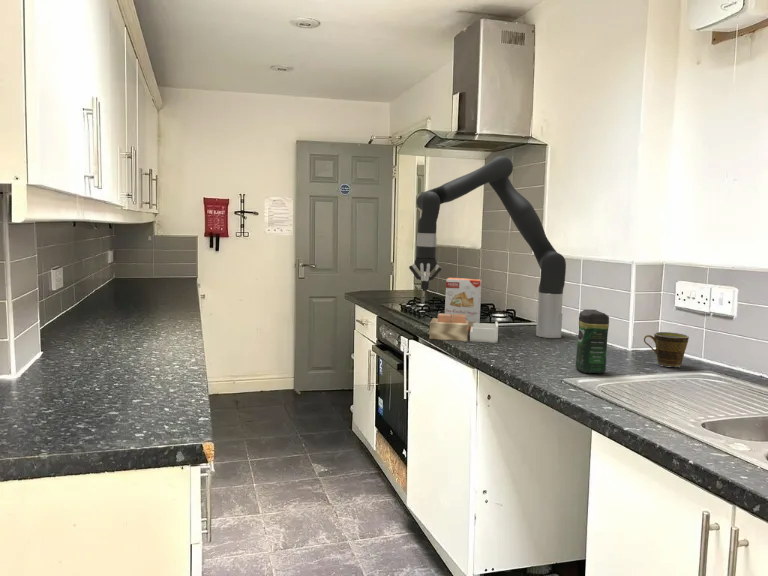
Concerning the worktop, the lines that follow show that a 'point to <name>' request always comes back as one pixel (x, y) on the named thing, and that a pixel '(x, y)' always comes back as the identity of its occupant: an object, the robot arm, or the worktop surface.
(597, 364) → the coffee jar
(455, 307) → the cracker box
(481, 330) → the bin
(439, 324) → the platform
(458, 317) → the tile
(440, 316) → the tile
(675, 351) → the ceramic cup
